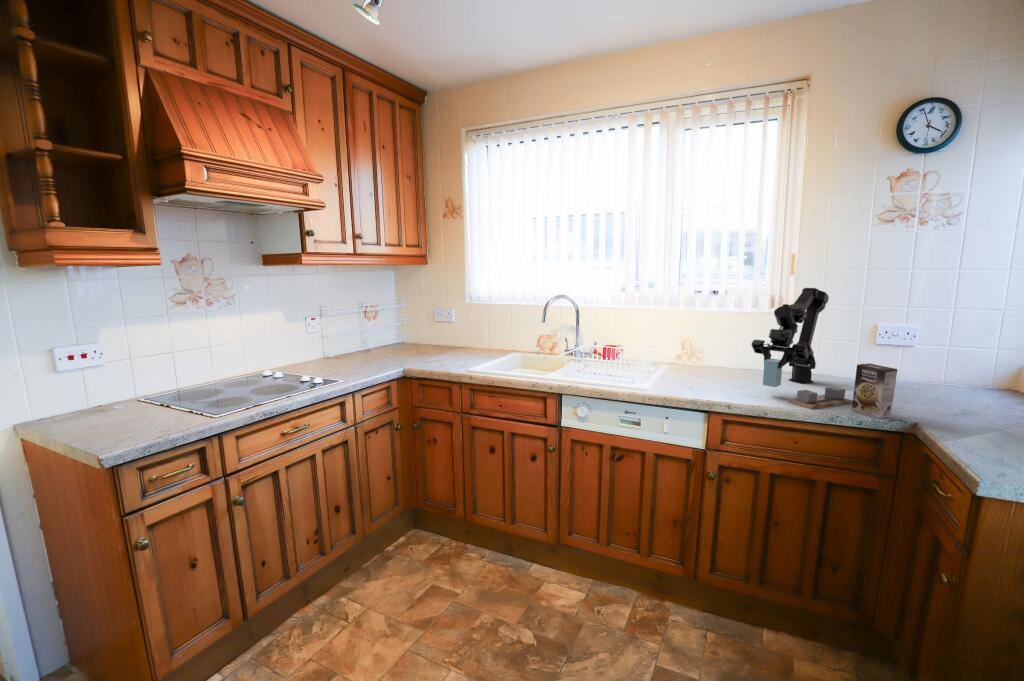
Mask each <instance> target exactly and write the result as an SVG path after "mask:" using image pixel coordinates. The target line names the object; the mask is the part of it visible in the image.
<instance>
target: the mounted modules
mask: <svg viewBox="0 0 1024 681" xmlns="http://www.w3.org/2000/svg"><path fill="white" fill-rule="evenodd" d="M824 389H825V390H824V395H825V396H829V397H833V398H836V399H837V398H846V397H845V395H846V389H845V388H842V387H837V386H825V388H824ZM796 394H797V395H796V398H797V399H798V400H802V401H805V402H815V401H817V395H818V392H815V391H811V390H808V389H802V390H797V393H796Z"/></svg>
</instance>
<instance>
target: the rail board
mask: <svg viewBox="0 0 1024 681" xmlns="http://www.w3.org/2000/svg"><path fill="white" fill-rule="evenodd" d="M819 396H825V394H819V395H818V394H817V397H819ZM787 402H788V403H790V404H793V405H797V406H800V407H803V408H805V409H809V410H814V409H820V408H821V407H822V408H826V407H827V408H828V406H829V407H835V406H834V405H836V406H842V405H841V404H843V405H848V403H850V404H852V403H853V399H849V398H846V397H844V399H838V400H830V401H823V402H816V403H809V404H805V403H802V402H799V401H797V397H796V398H790V399H789V398H788V401H787Z"/></svg>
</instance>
